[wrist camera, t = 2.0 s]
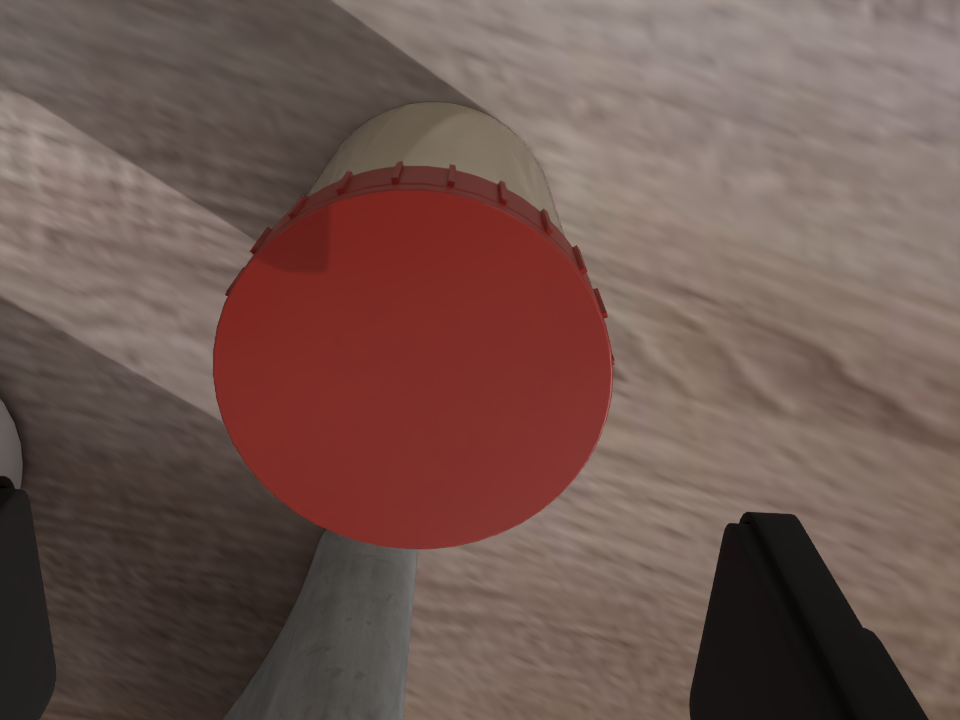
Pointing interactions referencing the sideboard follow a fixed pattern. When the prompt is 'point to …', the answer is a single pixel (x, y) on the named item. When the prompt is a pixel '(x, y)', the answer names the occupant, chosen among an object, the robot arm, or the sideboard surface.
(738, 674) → the robot arm
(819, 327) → the sideboard surface
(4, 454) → the milk bottle
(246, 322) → the jam lid
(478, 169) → the jam jar
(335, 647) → the hip flask
